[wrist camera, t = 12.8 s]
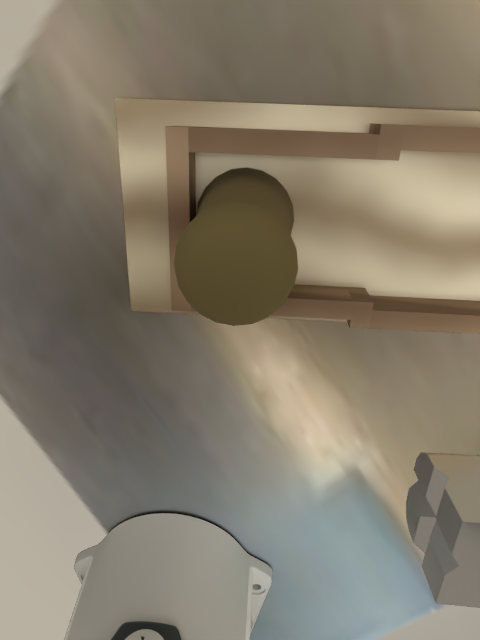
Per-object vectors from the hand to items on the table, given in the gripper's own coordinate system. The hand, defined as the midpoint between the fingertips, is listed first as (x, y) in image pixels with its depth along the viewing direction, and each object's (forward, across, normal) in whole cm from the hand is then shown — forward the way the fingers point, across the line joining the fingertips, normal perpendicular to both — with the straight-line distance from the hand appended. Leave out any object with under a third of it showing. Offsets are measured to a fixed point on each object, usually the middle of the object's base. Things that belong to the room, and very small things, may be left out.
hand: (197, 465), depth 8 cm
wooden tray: (+22, +6, +1) cm, 22 cm away
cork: (+21, 0, +1) cm, 21 cm away
